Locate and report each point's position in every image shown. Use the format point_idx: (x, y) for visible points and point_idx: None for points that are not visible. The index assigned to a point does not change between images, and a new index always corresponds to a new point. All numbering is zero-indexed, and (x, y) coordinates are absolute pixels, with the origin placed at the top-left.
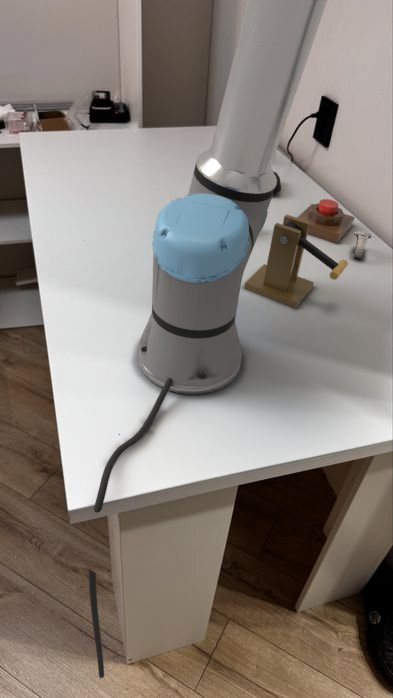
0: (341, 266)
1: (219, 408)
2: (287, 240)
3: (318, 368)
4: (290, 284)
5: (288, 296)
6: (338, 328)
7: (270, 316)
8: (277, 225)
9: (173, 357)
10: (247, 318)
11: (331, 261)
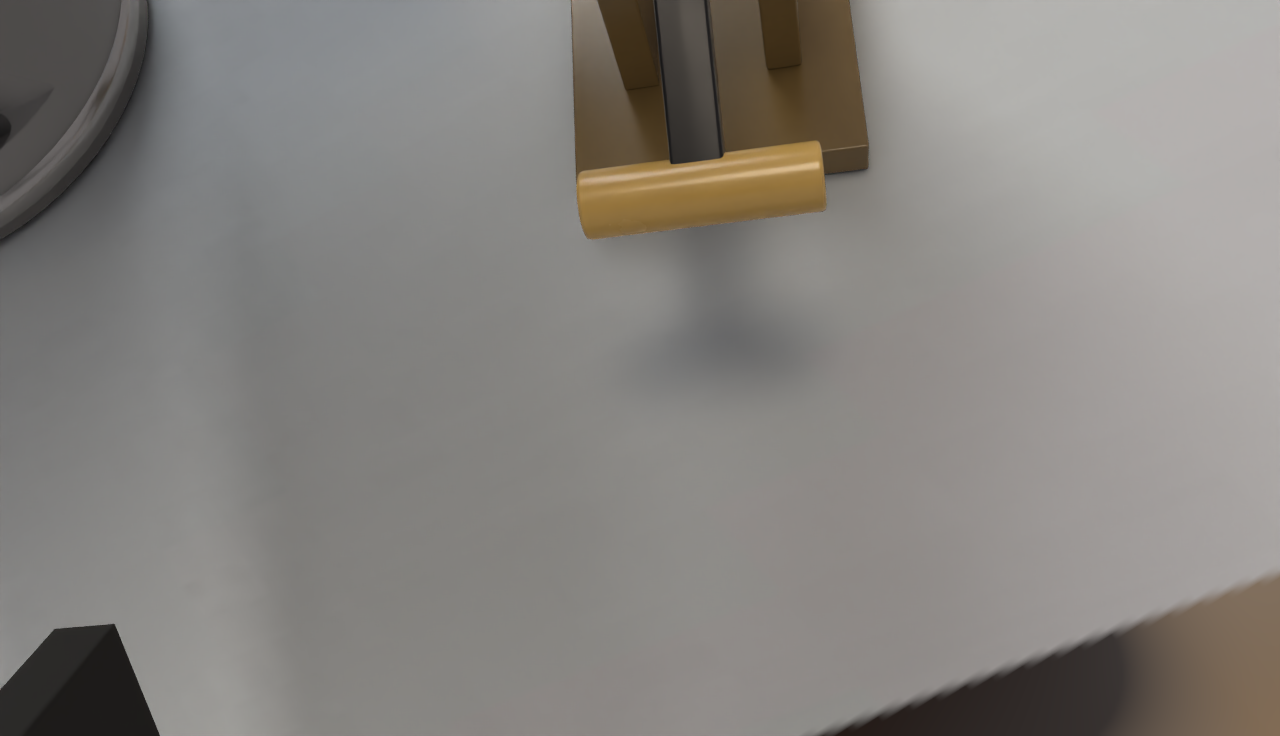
0: (698, 187)
1: None
2: None
3: (154, 547)
4: (732, 64)
5: (602, 119)
6: (563, 480)
7: (428, 149)
8: None
9: None
10: (342, 81)
11: (679, 103)
